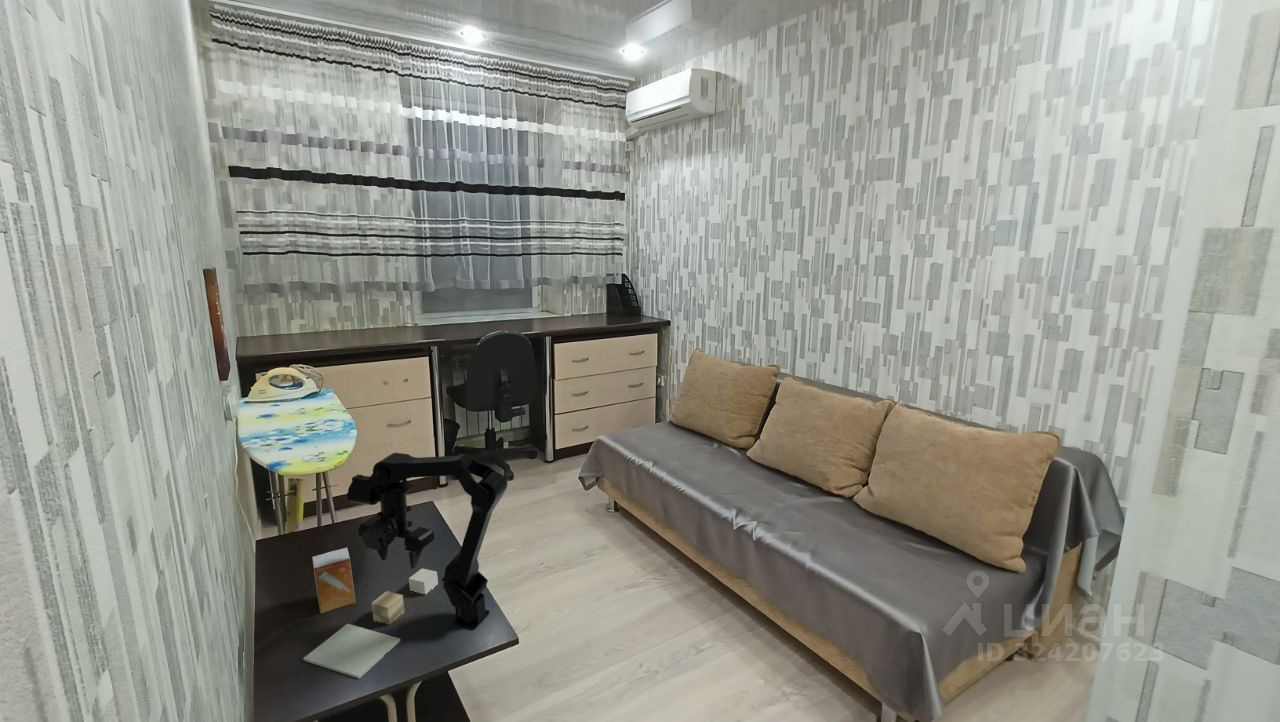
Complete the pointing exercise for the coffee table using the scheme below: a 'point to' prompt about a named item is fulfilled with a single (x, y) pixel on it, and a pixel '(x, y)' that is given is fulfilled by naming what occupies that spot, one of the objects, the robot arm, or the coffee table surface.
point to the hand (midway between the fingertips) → (398, 563)
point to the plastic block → (423, 581)
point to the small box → (333, 580)
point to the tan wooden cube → (387, 607)
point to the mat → (352, 650)
